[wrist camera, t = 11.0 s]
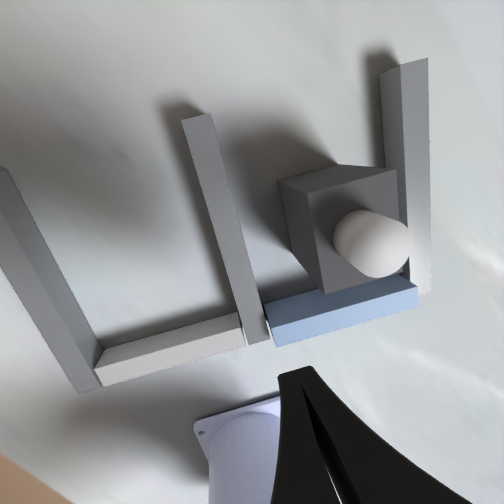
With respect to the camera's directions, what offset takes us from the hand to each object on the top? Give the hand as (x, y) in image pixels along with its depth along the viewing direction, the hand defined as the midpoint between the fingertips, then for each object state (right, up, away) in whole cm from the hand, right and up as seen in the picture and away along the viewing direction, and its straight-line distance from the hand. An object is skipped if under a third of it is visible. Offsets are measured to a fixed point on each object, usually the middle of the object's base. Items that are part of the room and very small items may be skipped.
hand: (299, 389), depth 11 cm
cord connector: (+2, +8, +8) cm, 11 cm away
